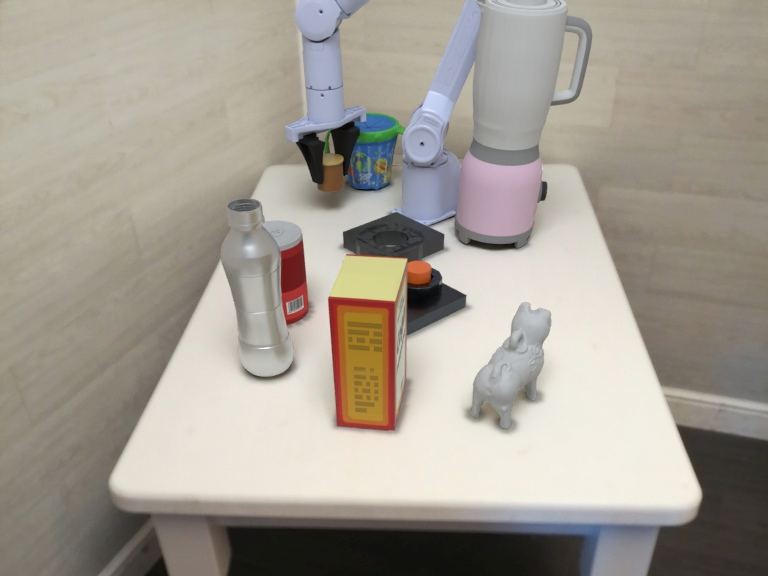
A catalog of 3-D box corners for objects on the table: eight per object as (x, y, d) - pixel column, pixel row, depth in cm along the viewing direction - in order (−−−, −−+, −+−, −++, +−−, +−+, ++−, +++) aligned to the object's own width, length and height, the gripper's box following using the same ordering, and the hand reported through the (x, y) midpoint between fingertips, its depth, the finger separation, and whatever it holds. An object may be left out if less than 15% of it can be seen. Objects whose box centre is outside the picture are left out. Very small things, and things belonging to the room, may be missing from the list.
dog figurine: (552, 380, 87) (568, 298, 79) (506, 437, 79) (518, 353, 71) (512, 366, 89) (523, 286, 81) (463, 421, 81) (470, 338, 73)
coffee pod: (333, 179, 122) (331, 151, 119) (351, 187, 119) (349, 158, 116) (310, 186, 120) (307, 158, 116) (328, 195, 117) (326, 166, 114)
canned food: (313, 298, 101) (307, 220, 93) (303, 328, 95) (295, 248, 87) (260, 296, 101) (248, 218, 94) (246, 326, 96) (233, 246, 88)
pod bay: (396, 226, 117) (396, 211, 115) (446, 251, 111) (447, 235, 109) (337, 249, 111) (336, 233, 110) (387, 276, 105) (387, 260, 103)
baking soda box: (352, 377, 87) (346, 250, 76) (405, 381, 87) (407, 254, 75) (337, 426, 81) (327, 295, 69) (394, 431, 80) (394, 299, 69)
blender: (454, 250, 110) (481, -3, 87) (451, 214, 118) (474, -25, 95) (557, 253, 110) (611, 2, 87) (546, 218, 118) (593, -20, 95)
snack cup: (418, 176, 132) (420, 115, 124) (403, 199, 125) (404, 136, 117) (337, 168, 135) (334, 108, 128) (318, 190, 128) (314, 128, 120)
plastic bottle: (287, 386, 86) (265, 220, 72) (233, 380, 87) (201, 215, 73) (302, 356, 91) (284, 195, 76) (250, 351, 92) (224, 190, 77)
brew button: (418, 270, 100) (418, 258, 99) (436, 279, 98) (436, 267, 97) (398, 278, 98) (399, 266, 97) (416, 288, 96) (417, 275, 95)
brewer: (416, 281, 104) (416, 258, 101) (465, 307, 99) (467, 284, 96) (357, 307, 99) (356, 283, 96) (406, 336, 94) (406, 312, 91)
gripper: (345, 70, 114) (349, 160, 124) (269, 89, 108) (279, 182, 117) (373, 79, 110) (375, 171, 120) (297, 99, 104) (305, 195, 113)
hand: (330, 178), depth 118 cm, fingers closed on coffee pod, 4 cm apart
